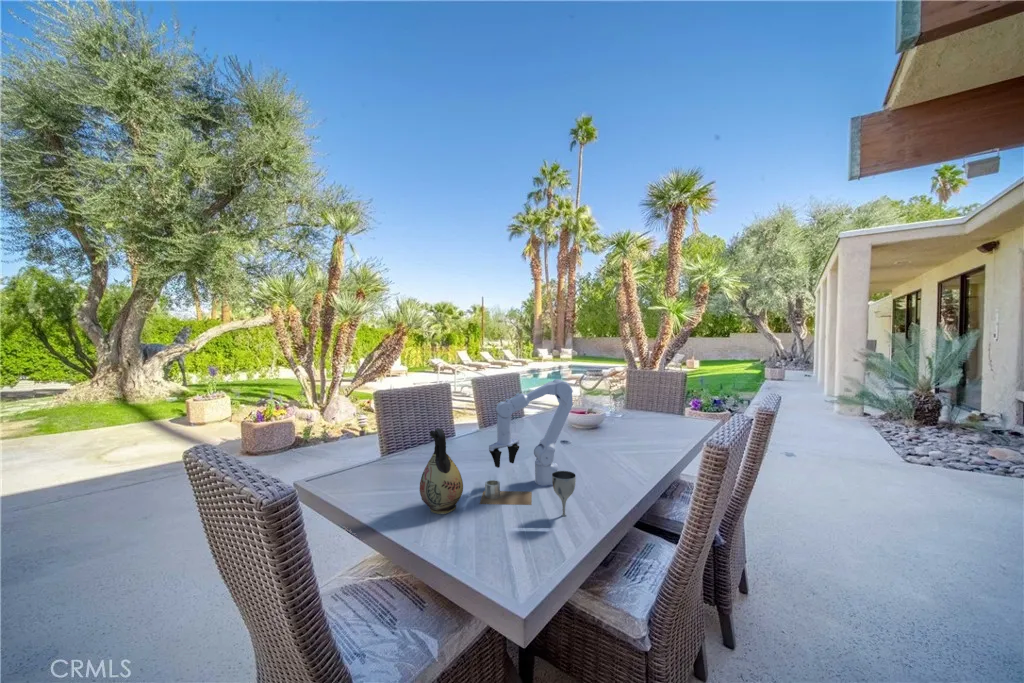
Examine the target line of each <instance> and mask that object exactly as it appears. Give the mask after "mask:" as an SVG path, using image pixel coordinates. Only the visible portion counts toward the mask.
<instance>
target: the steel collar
mask: <svg viewBox="0 0 1024 683" xmlns="http://www.w3.org/2000/svg"><path fill="white" fill-rule="evenodd" d="M500 489H501V482H500V481H499V480H496V479H490V480H489V479H488V480H486V481H485V482H484V491H485V497H486V498H489V499H496V498H499V497H500V491H501V490H500Z"/></svg>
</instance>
